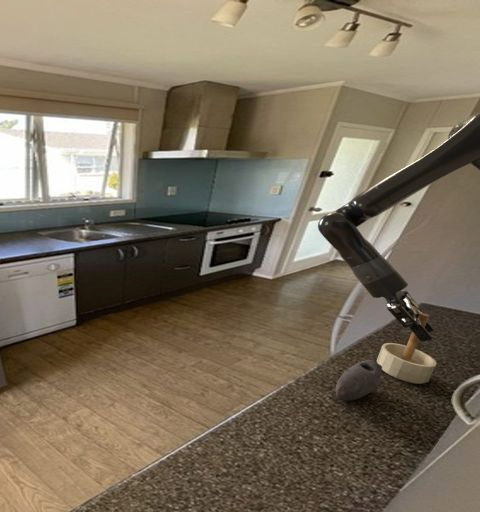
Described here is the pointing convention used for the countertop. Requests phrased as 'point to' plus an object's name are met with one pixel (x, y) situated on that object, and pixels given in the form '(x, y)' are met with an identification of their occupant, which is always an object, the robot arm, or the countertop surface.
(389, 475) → the countertop surface
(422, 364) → the bowl
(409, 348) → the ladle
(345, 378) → the perforated stone tool
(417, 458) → the countertop surface
